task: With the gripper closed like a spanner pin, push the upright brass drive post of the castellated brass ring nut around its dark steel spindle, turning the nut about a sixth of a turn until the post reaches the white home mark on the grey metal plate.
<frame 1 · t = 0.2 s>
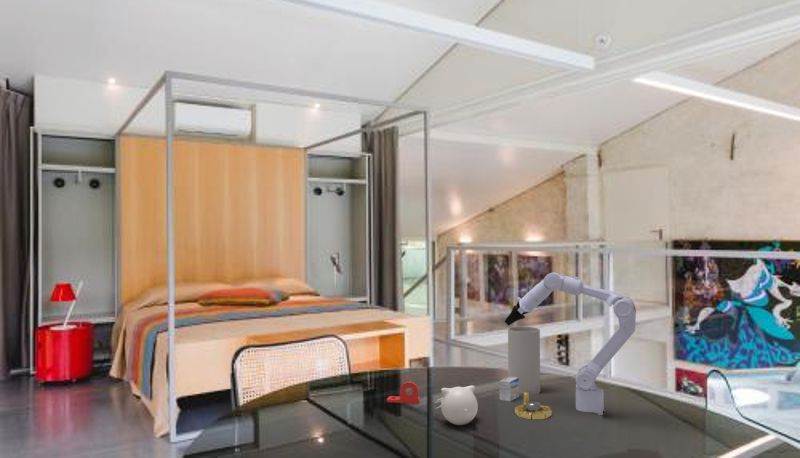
hand: (508, 321, 209), 31 cm above the table, tool tilted 45°, fingers open, 7 cm apart
cylinder vase: (524, 391, 225), on the table
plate: (533, 418, 193), on the table
ring nut: (531, 405, 194), point 4 cm above the table, hinge at 0.0°
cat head: (459, 424, 187), on the table
bracket: (403, 402, 213), on the table
medicine box: (509, 402, 211), on the table
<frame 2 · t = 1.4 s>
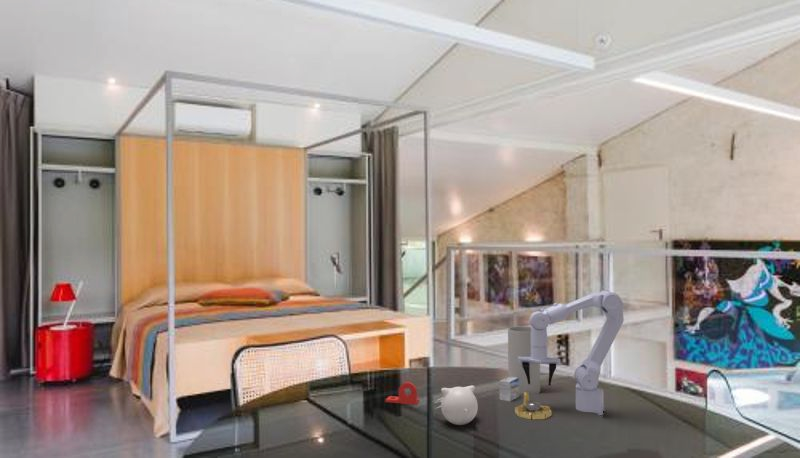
hand: (539, 384, 199), 10 cm above the table, tool pointing down, fingers open, 6 cm apart
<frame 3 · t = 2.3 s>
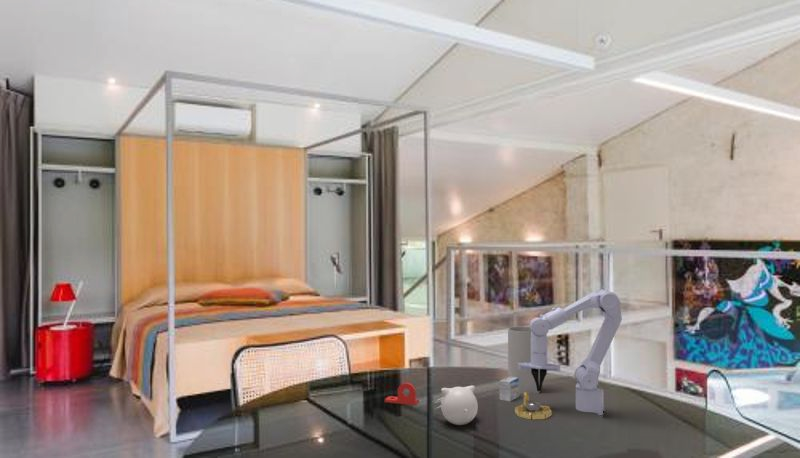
hand: (539, 390, 199), 8 cm above the table, tool pointing down, fingers closed
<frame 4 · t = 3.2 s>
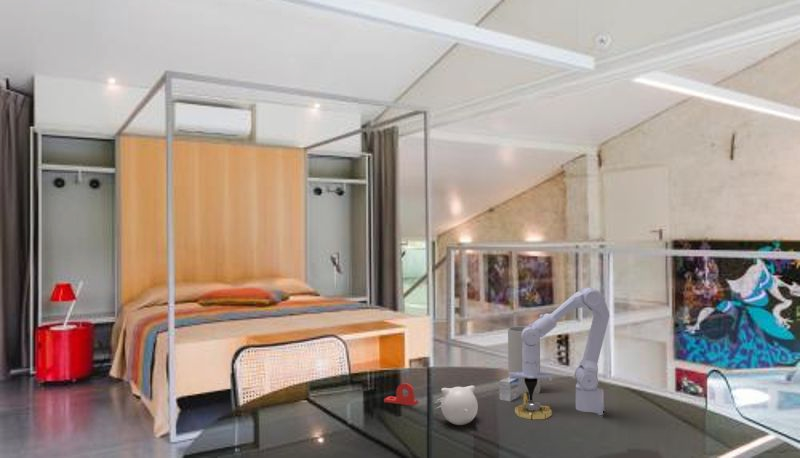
hand: (530, 399, 200), 4 cm above the table, tool pointing down, fingers closed, pressing on ring nut
ring nut: (531, 405, 194), point 4 cm above the table, hinge at 0.5°, touching gripper
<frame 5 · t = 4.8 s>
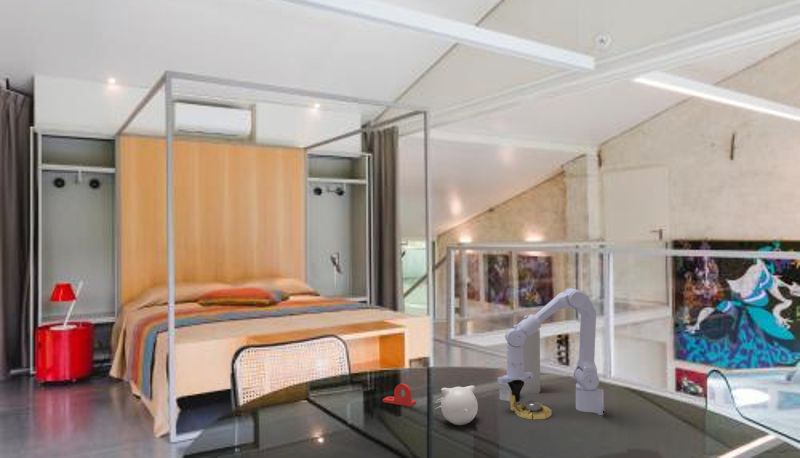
hand: (515, 401, 198), 4 cm above the table, tool pointing down, fingers closed, pressing on ring nut
ring nut: (529, 405, 193), point 4 cm above the table, hinge at 47.6°, touching gripper
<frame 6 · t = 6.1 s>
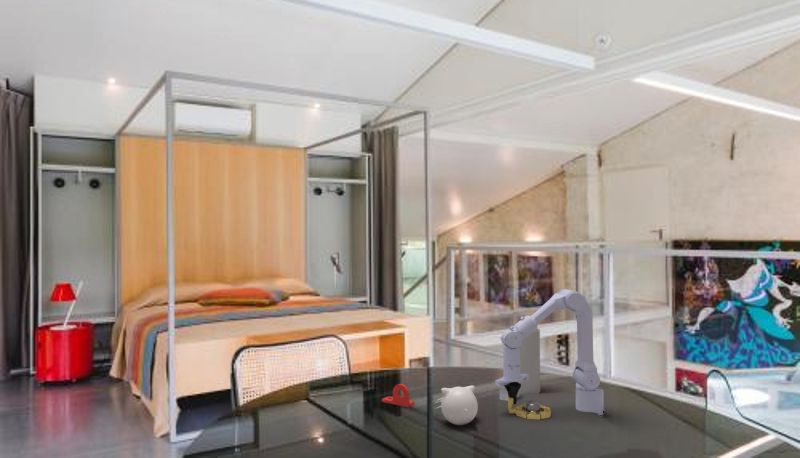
hand: (512, 403, 196), 4 cm above the table, tool pointing down, fingers closed, pressing on ring nut
ring nut: (529, 406, 193), point 4 cm above the table, hinge at 73.3°, touching gripper
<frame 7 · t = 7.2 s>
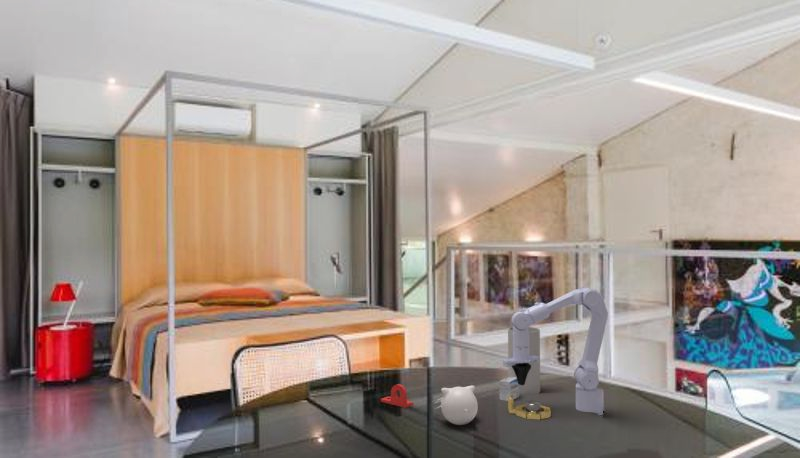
hand: (521, 384, 199), 10 cm above the table, tool pointing down, fingers closed
ring nut: (529, 406, 193), point 4 cm above the table, hinge at 73.3°
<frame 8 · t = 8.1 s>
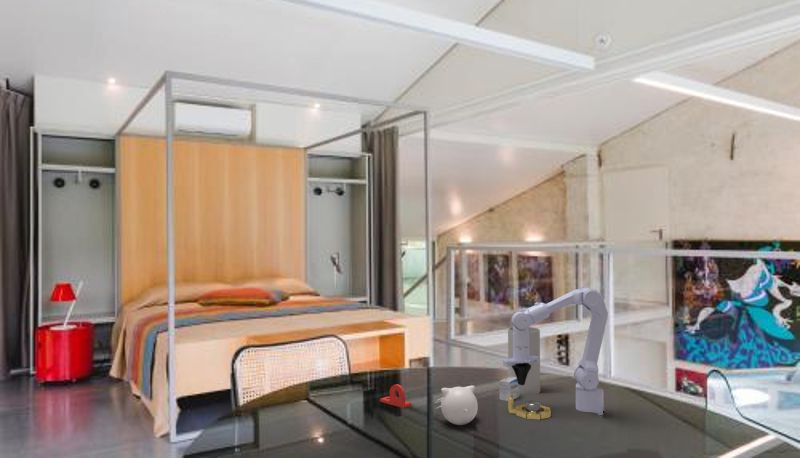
hand: (521, 384, 199), 10 cm above the table, tool pointing down, fingers closed
at the end: ring nut at +73° (first picture: +0°) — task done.
